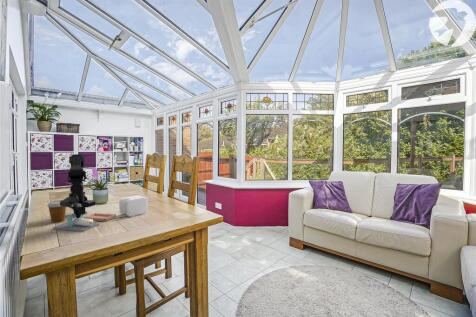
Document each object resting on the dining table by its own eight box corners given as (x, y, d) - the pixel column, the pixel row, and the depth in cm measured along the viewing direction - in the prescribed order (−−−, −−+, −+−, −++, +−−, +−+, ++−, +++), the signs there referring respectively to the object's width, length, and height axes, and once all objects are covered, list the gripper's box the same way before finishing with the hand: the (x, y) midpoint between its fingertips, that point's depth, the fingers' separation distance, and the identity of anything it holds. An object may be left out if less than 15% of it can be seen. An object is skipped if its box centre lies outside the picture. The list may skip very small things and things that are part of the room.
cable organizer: (126, 218, 148) (126, 200, 148) (119, 215, 155) (118, 198, 154) (148, 213, 160) (148, 196, 159) (140, 210, 167) (140, 194, 166)
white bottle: (72, 225, 131) (73, 218, 131) (78, 224, 134) (79, 217, 135) (88, 226, 128) (90, 219, 129) (94, 226, 132) (95, 219, 133)
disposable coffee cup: (46, 224, 136) (45, 204, 135) (50, 220, 144) (49, 201, 144) (66, 222, 140) (65, 202, 140) (69, 218, 149) (68, 199, 148)
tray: (83, 219, 145) (83, 217, 145) (95, 215, 154) (95, 212, 154) (105, 221, 142) (105, 218, 142) (116, 217, 151) (116, 214, 151)
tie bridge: (68, 227, 129) (67, 216, 129) (79, 222, 136) (78, 212, 136) (71, 227, 129) (70, 216, 128) (82, 223, 136) (81, 213, 136)
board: (53, 229, 129) (52, 227, 129) (70, 222, 140) (70, 221, 140) (83, 231, 125) (83, 230, 125) (99, 225, 136) (99, 223, 136)
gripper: (49, 193, 125) (51, 221, 126) (78, 194, 121) (79, 223, 122) (68, 189, 136) (69, 215, 137) (95, 190, 132) (96, 217, 133)
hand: (78, 217), depth 132 cm, fingers closed
